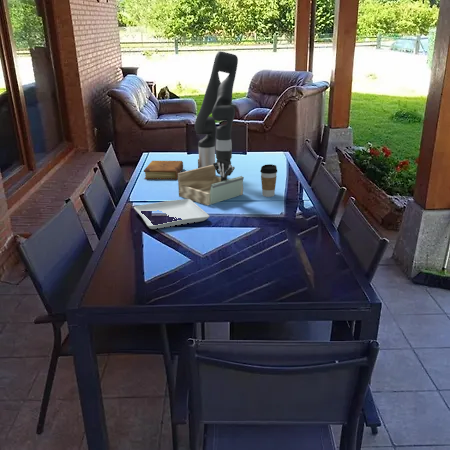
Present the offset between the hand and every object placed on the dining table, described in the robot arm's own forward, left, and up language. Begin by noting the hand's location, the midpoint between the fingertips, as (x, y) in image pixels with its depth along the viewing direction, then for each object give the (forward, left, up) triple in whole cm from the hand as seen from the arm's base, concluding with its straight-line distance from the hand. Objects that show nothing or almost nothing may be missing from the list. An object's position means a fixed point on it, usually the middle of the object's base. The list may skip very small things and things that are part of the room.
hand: (223, 183), depth 241 cm
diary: (-60, +10, -9) cm, 62 cm away
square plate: (+1, -34, -9) cm, 35 cm away
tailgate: (+1, 0, -8) cm, 8 cm away
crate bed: (-9, 0, -8) cm, 12 cm away
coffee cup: (+11, +20, -8) cm, 24 cm away
